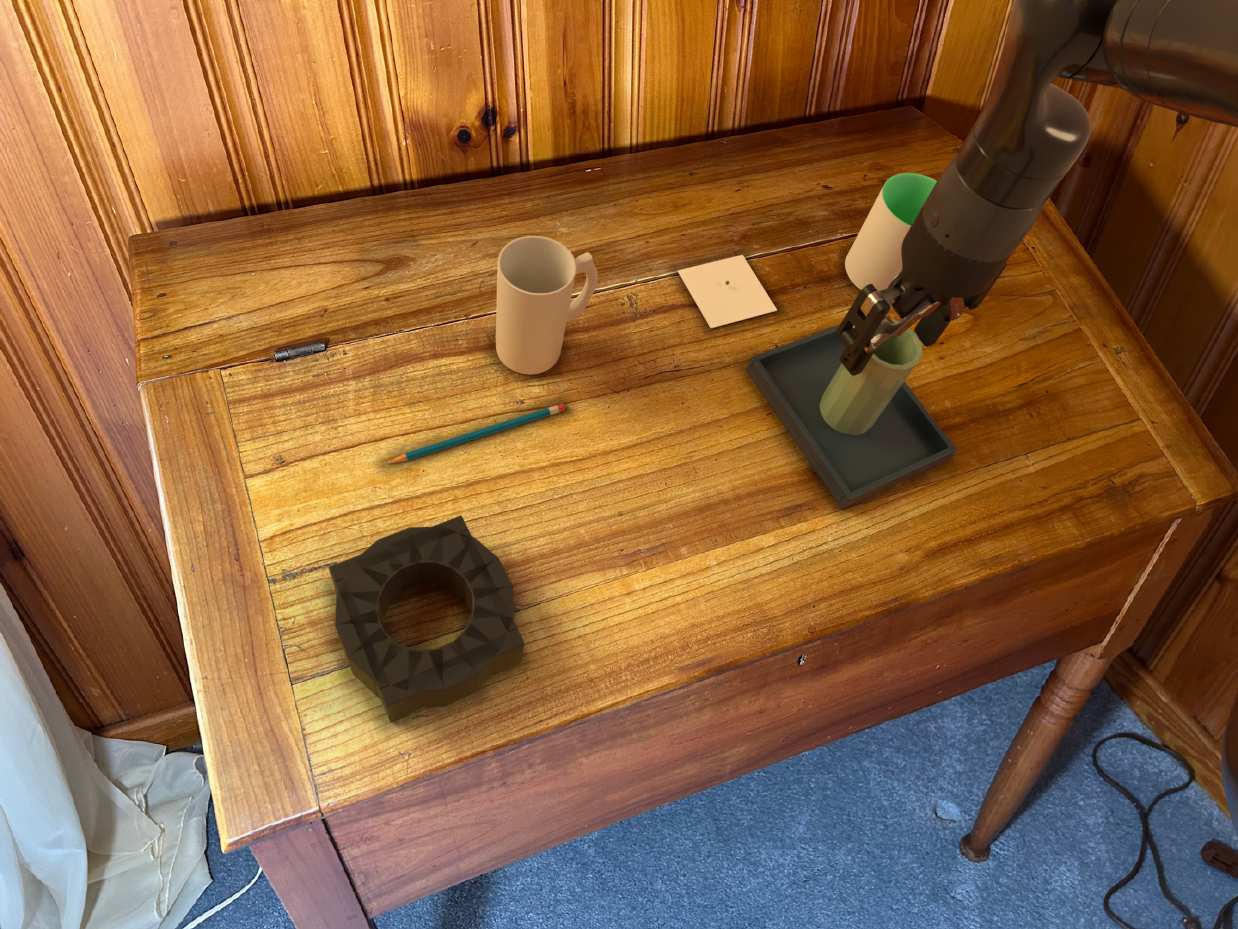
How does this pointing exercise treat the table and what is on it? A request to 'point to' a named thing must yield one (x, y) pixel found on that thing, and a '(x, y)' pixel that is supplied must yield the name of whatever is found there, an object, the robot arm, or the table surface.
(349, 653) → the dark brown carved ring
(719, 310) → the coaster
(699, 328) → the table surface
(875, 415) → the cup
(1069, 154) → the robot arm
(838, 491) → the tray
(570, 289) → the mug
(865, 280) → the mug
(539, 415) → the pencil
